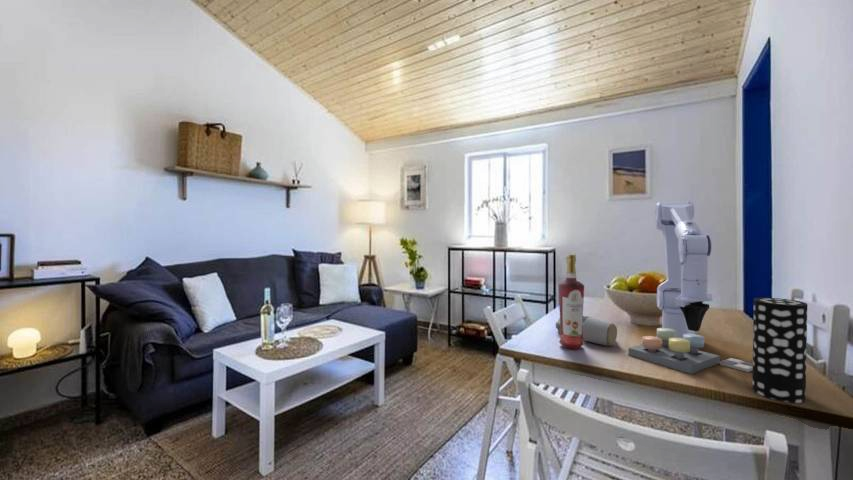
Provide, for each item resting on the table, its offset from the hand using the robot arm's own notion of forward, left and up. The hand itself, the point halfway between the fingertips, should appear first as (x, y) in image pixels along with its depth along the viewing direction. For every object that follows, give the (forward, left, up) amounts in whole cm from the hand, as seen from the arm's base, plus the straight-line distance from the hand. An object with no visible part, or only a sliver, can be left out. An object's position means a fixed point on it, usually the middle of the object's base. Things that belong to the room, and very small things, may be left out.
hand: (693, 330), depth 100 cm
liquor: (+18, -25, -8) cm, 32 cm away
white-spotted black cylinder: (+6, +19, -8) cm, 22 cm away
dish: (+4, -34, -9) cm, 35 cm away
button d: (+7, 0, -6) cm, 9 cm away
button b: (0, 0, -6) cm, 6 cm away
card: (-6, +8, -8) cm, 13 cm away
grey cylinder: (+7, -23, -8) cm, 25 cm away
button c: (+7, -7, -8) cm, 13 cm away
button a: (0, -7, -6) cm, 9 cm away
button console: (+3, -4, -8) cm, 10 cm away
